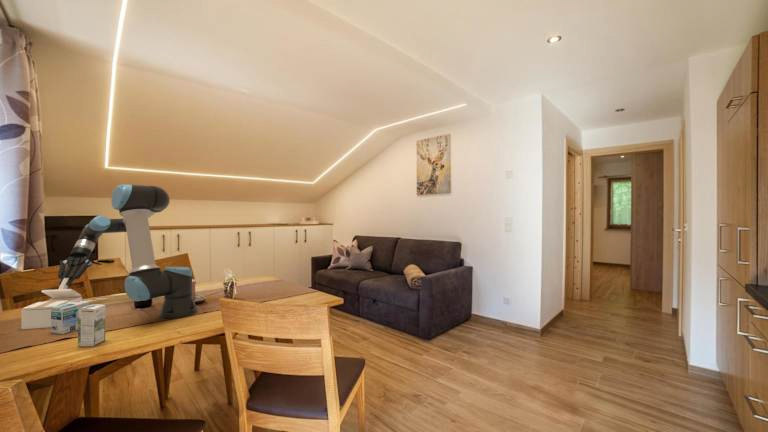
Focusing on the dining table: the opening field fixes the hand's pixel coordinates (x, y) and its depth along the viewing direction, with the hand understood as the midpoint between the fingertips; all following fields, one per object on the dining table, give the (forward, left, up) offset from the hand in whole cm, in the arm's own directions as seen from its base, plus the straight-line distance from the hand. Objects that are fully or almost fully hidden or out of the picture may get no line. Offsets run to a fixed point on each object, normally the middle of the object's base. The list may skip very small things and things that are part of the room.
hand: (61, 291), depth 153 cm
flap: (-1, 0, -1) cm, 2 cm away
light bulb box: (-24, -2, -12) cm, 27 cm away
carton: (-6, +3, -12) cm, 13 cm away
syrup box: (-49, -7, -12) cm, 51 cm away
